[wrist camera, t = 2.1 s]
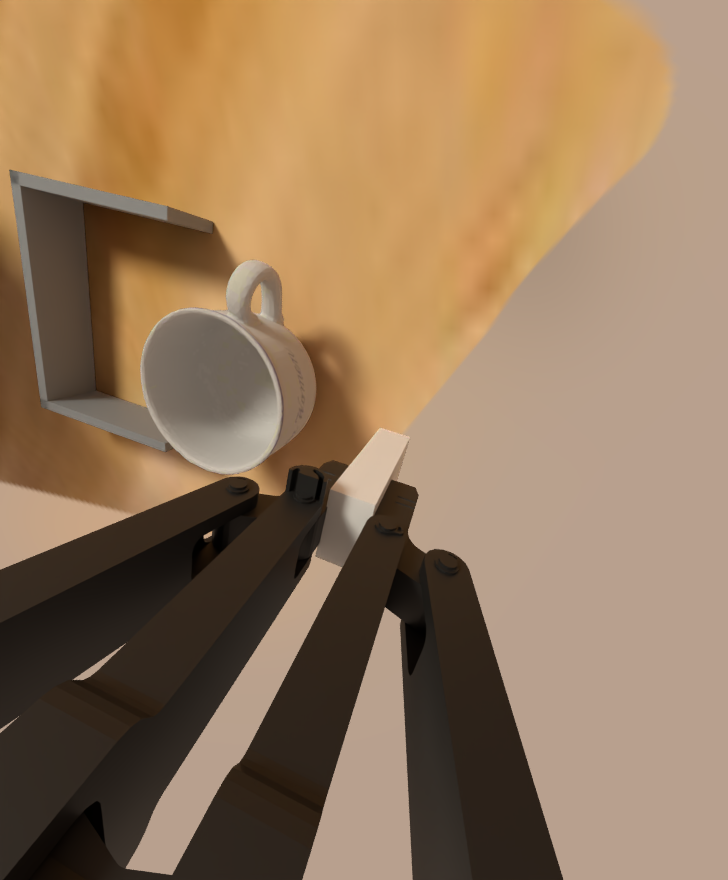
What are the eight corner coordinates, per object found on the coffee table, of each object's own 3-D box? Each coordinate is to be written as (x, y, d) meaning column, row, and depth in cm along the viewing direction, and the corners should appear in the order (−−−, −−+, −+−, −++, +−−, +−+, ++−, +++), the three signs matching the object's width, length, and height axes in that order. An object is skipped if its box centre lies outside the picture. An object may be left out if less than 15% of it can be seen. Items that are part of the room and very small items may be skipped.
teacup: (288, 461, 32) (236, 505, 25) (193, 386, 32) (113, 408, 25) (379, 329, 26) (344, 337, 19) (262, 238, 26) (184, 211, 19)
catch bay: (89, 395, 36) (41, 407, 32) (74, 189, 29) (9, 169, 25) (201, 434, 34) (165, 452, 30) (213, 221, 27) (167, 206, 23)
